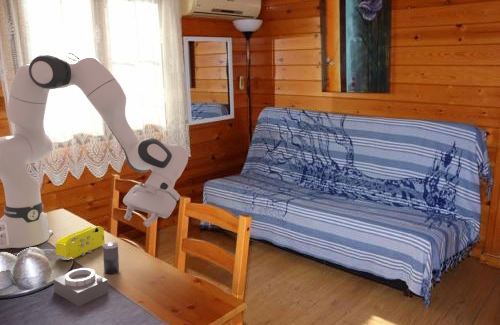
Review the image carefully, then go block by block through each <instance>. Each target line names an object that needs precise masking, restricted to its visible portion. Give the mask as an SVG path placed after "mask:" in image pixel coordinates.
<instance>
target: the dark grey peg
mask: <svg viewBox="0 0 500 325" xmlns="http://www.w3.org/2000/svg"><path fill="white" fill-rule="evenodd" d="M102 254H103V256H102V257H103V271H104V274H105V275H107V276H113V275H116V274H118V273H119V272H120V262H119V261H120V259H119V258H120V257H119V244H118V242H116V241H107V242H105V243H104V244H103V245H102Z"/></svg>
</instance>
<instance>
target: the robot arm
mask: <svg viewBox="0 0 500 325" xmlns="http://www.w3.org/2000/svg"><path fill="white" fill-rule="evenodd" d="M69 86H76V87H78V88H79V89H80V90H81V91H82V93H83V94H84V95H85V97H86V98H87V100H88V101H89V102H90V103H91V105H92V106H93V107H94V109H95V110H96V111H97V113H99V116H101V118H102V119H103V121H104V122H105V124H106V125H107V127H108V128H109V130H110V132H111V133H112V135H113V137H114V138H115V139H116V140H117V143H118V144H119V145H120V147H121V149H122V151H123V153H124V156H125V160H126V163H127V165H128V167H129V168H130V169H131V170H132V171H134V172H136V173H142V174H144V173H147V172H150V171H151V173H150V175H149V177H148V178H147V180H146V181H145V183H143V182H139V183H137V184H135V185H134V186H132V188H130V189H129V191H128V192H127V194H125V195H124V197H123V199H122V202H123V203H122V204H124V205H125V206H127V207H126V213H125V214H124V216H123V218H124V220H126V221H131V219H132V218H133V216H132V213H133V212H134V211H135V210H137V211H139V212H144V213H147V214H150V217H148V218H147V219H144V221H143V222H142V225H143V226H145V227H147V228H150V226H151V225H152V223H154V222H155V221H157V220H158V218H163V219H168V218H169V217H170V215H172V213H173V211H174V209H175V207H176V205H177V201H179V200H180V199H181V195H180V194H179V193H178V191H177V190H175V188H174V187H175V184H176V182H177V180H178V179H179V178H180V177H181V176H182V173H183V172H184V170H185V168H186V167H187V164H188V161H189V154H188V152H187V151H186V150H185V148H184V147H182V146H181V145H179V144H178V143H177V144H176V143H166V142H162V141H161V140H159V139H157V138H155V137H148V138H144V139H142V140H141V141H140V139H138V137H137V135H136V133H135V132H134V131H133V128H131V126H130V124H129V122H128V121H127V120H128V119H127V116H126V105H127V96H126V93H125V91H124V90H123V88H122V86H121V84H120V83H119V81H118V80H117V79H116V77H115V76H114V75H113V73H112V72H111V71H110V70H109V69H108V67H106V66H105V65H104V63H102V62H101V60H99V59H98V58H97V57H94V56H84V57H82V58H81V57H79V55H77V54H74V53H70V52H66V53H65V52H54V53H48V54H41V55H38V56H35V57H34V59H32V60H31V62H30V64H29V63H28V64H23V65H20V66H19V67H18V68H17V70H16V73H15V75H14V77H13V80H12V83H11V87H10V92H9V96H8V97H9V98H8V103H7V109H6V118H7V119H8V121H10V122H11V123H12V124H14V126H15V131H14V134H11V135H6V136H0V180H1V183H2V186H3V191H4V197H5V203H4V204H3V205H4V209H3V212H4V213H3V214H4V215H3V216H2V217H0V249H2V250H3V249H11V248H12V249H13V248H14V249H22V248H28V247H29V248H30V247H33V246H37V245H41V244H43V243H45V242H47V241H48V240H49V239H50V236H51V235H53V233H54V232H53V230H52V229H50V225H49V219H48V214H47V213H46V212H44V204H43V200H42V196H41V186H40V185H41V184H40V181H39V179H38V178H37V177H35V176H33V175H30V173H29V171H28V167H27V166H28V165H30V164H34V163H39V162H40V161H42V160H44V159H46V158H48V157H49V156H50V155H51V153H52V151H53V143H52V139H51V138H50V137H49V136H48V135H47V134H46V131H45V128H44V119H45V113H46V108H47V107H46V106H47V103H48V96H49V92H50V90H54V89H64V88H67V87H69Z"/></svg>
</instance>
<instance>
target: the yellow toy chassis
mask: <svg viewBox="0 0 500 325" xmlns="http://www.w3.org/2000/svg"><path fill="white" fill-rule="evenodd" d="M104 230H105V228H104V227H103V226H100V225H97V226H95V227H91V226H88V227H86V228H82V229H80V230H78V231H75V232H72V233H70V234H68V235H66V236H63V237H61V238H60V237H59V239H58V240H57V242H56V243H55V256H56V255H61V256H64V257H66V258H68V257H72V258H73V260H74V259H76V258H77V257H81V256H85V255H86V253H88V254H91V253H92V250H96V249H98V248H100V247H101V246H102V247H103V244H104V243H106V242H105V231H104Z"/></svg>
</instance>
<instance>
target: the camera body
mask: <svg viewBox="0 0 500 325" xmlns="http://www.w3.org/2000/svg"><path fill="white" fill-rule="evenodd" d="M108 282H109V281H108V279H107V278H105V277H103V276H101V275H99V274H97V273H96V270H94V269H92V268H89V267H88V268H87V267H80V268H76V269H72V270H70V271H68V272H67V273H65V274H62V275H60V276H57V277H55V278H53V291H54V293H55V294H56V295H58V296H61V298H63V299H65V300H67V301H69V302H71V303H72V304H74V305H76V306H77V307H81V306H84V305H85V304H86V305H87V303H89V302H92V301H94V300H96V299H98V298H100V297H102V296H104V295H106V294H108V293H109V286H108V285H109V283H108Z"/></svg>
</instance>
